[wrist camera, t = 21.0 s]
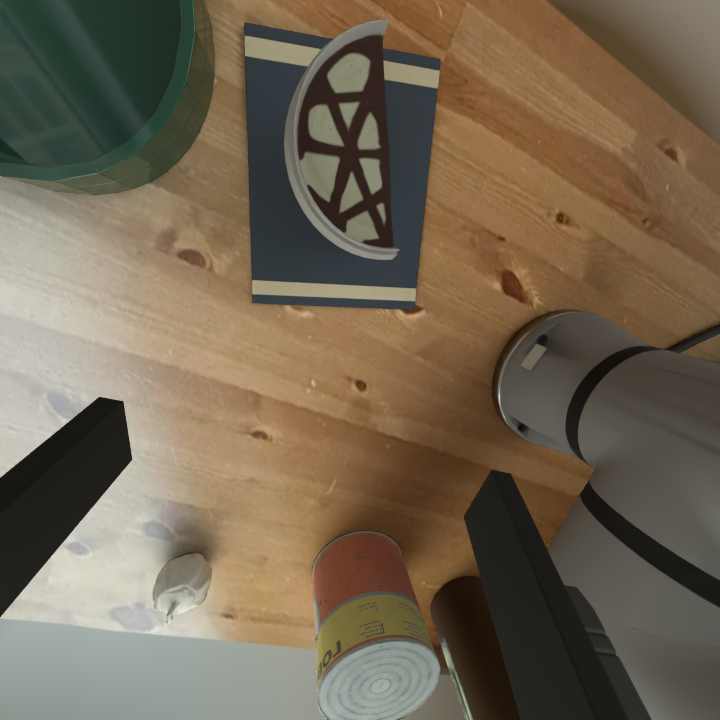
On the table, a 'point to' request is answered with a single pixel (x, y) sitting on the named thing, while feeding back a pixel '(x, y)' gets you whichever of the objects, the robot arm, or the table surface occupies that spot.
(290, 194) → the towel
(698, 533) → the robot arm
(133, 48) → the green round shallow dish
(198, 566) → the garlic
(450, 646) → the olive oil
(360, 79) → the food container
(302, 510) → the table surface
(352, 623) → the canned food
